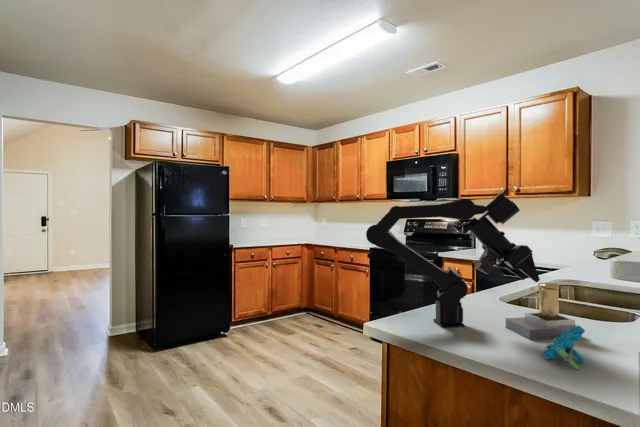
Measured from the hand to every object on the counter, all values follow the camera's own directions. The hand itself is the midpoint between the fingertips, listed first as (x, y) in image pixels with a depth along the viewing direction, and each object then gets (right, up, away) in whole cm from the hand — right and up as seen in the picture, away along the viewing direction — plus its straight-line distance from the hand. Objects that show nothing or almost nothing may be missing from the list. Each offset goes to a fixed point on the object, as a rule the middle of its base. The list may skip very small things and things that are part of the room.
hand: (531, 280), depth 101 cm
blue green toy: (-4, -14, -20) cm, 25 cm away
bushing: (+4, -13, -2) cm, 14 cm away
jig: (+2, -13, -2) cm, 14 cm away
